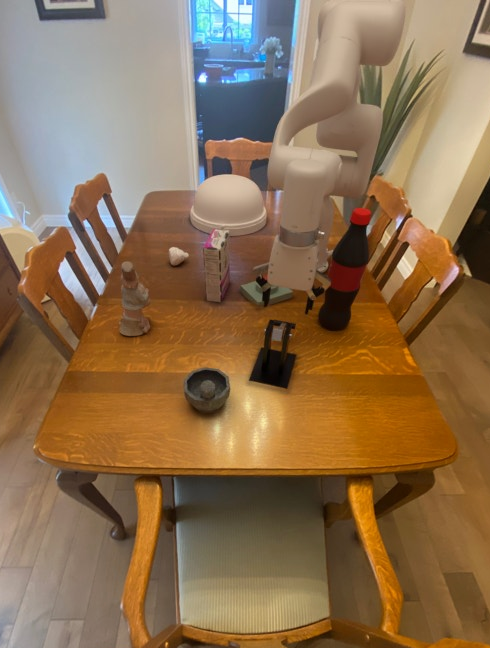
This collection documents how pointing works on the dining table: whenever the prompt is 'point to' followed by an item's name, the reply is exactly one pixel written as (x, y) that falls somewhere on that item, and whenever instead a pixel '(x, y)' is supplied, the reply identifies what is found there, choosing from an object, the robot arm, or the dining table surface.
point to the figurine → (133, 302)
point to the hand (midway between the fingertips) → (286, 307)
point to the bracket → (274, 360)
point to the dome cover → (228, 205)
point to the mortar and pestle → (206, 389)
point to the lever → (280, 329)
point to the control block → (255, 293)
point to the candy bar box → (216, 265)
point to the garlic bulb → (177, 256)
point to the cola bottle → (346, 273)
